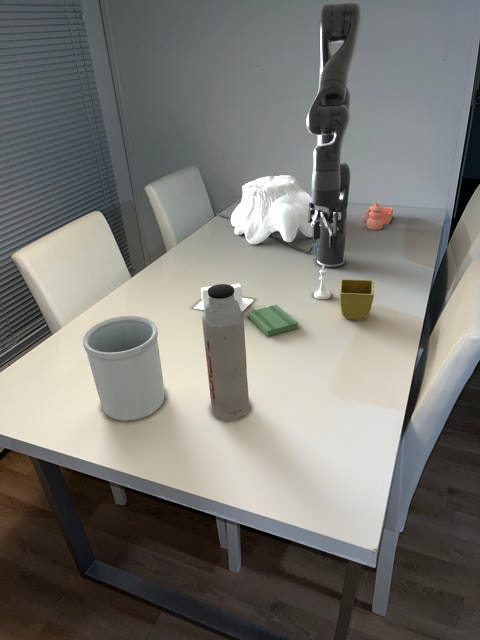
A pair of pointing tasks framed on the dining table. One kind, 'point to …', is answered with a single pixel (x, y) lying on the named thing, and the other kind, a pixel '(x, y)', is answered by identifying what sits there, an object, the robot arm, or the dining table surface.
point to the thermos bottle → (225, 353)
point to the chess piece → (322, 286)
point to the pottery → (378, 216)
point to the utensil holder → (126, 366)
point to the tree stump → (272, 209)
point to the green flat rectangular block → (272, 320)
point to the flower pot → (356, 298)
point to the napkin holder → (237, 296)
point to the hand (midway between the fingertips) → (324, 243)
